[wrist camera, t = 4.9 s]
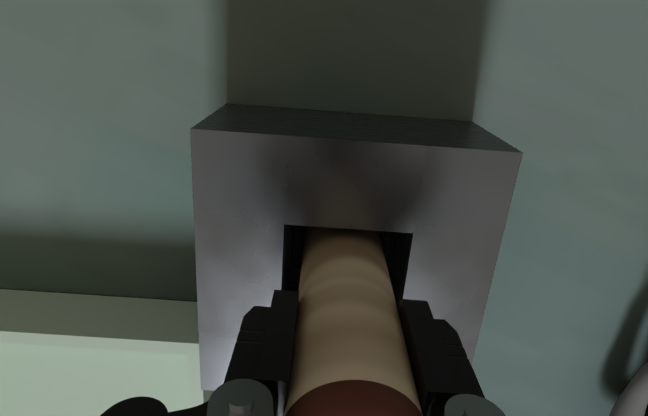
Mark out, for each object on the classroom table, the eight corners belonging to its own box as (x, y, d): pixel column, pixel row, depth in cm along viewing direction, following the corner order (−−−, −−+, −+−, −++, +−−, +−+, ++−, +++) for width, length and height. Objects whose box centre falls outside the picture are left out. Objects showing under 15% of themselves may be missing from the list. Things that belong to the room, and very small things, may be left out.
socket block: (226, 103, 18) (190, 128, 13) (472, 121, 18) (522, 152, 13) (228, 312, 22) (200, 389, 17) (432, 326, 22) (461, 405, 17)
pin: (308, 196, 18) (271, 468, 7) (382, 201, 18) (465, 481, 7) (303, 261, 19) (266, 587, 8) (373, 266, 19) (433, 598, 8)
